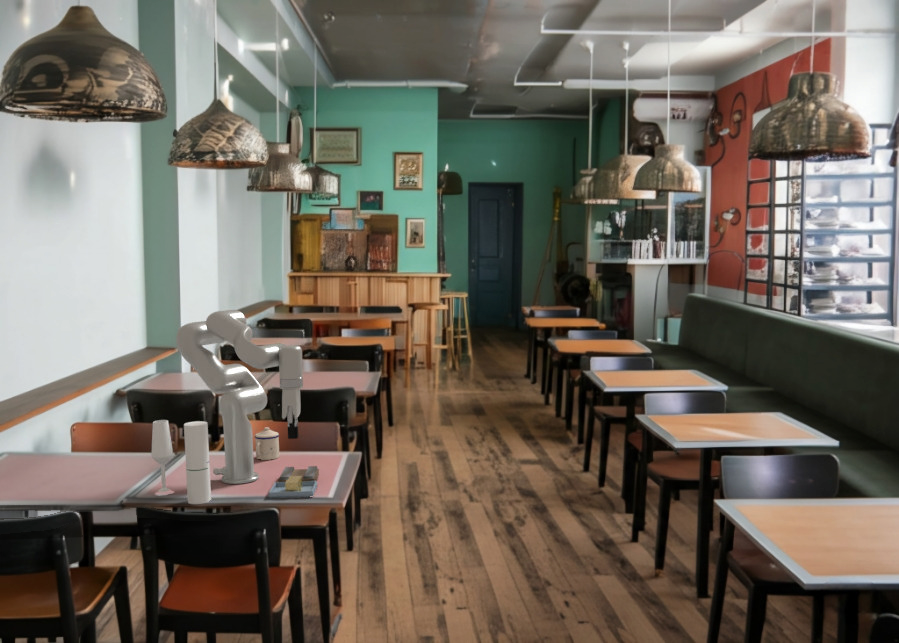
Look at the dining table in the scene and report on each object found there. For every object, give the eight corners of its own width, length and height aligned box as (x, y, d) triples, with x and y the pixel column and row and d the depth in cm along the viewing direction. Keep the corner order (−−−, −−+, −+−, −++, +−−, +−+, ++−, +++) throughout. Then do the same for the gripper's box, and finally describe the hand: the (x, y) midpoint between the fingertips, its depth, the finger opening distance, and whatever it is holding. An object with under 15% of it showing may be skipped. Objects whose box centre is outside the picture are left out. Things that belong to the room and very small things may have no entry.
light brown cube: (288, 491, 279) (288, 479, 279) (290, 488, 283) (289, 476, 283) (301, 491, 280) (300, 479, 279) (302, 487, 284) (301, 475, 283)
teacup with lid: (263, 454, 333) (262, 424, 332) (284, 455, 330) (283, 425, 329) (246, 461, 322) (245, 431, 321) (267, 463, 319) (266, 432, 318)
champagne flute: (157, 490, 286) (153, 419, 284) (177, 490, 286) (174, 419, 284) (150, 496, 279) (146, 423, 277) (171, 495, 279) (167, 423, 277)
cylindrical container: (214, 497, 276) (210, 421, 274) (206, 504, 269) (202, 426, 267) (193, 497, 277) (189, 421, 275) (184, 504, 270) (180, 426, 268)
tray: (269, 498, 274) (268, 492, 274) (275, 487, 286) (274, 482, 286) (313, 497, 275) (312, 491, 274) (317, 486, 286) (317, 480, 286)
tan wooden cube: (287, 491, 279) (285, 495, 275) (286, 479, 279) (285, 482, 275) (299, 491, 280) (298, 494, 276) (299, 479, 279) (297, 482, 275)
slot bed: (278, 487, 287) (278, 477, 286) (284, 476, 299) (284, 467, 299) (314, 486, 287) (314, 476, 287) (319, 475, 300) (318, 465, 300)
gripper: (283, 379, 289) (285, 433, 291) (276, 387, 274) (278, 443, 276) (305, 379, 289) (307, 432, 291) (299, 386, 274) (301, 443, 276)
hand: (293, 438), depth 283 cm, fingers closed
